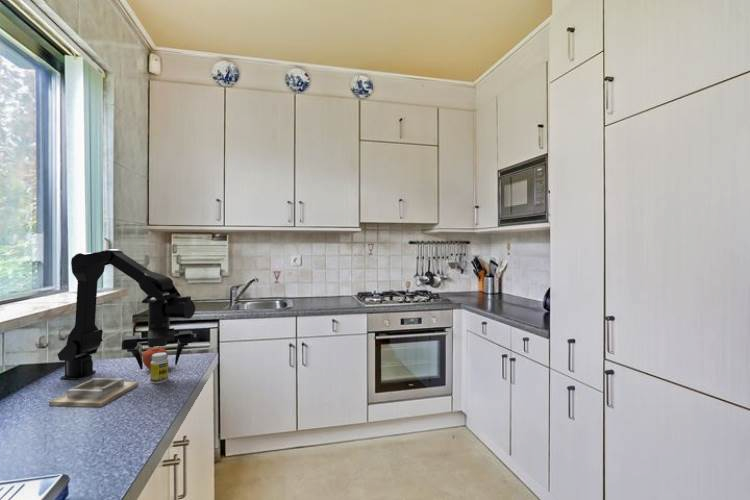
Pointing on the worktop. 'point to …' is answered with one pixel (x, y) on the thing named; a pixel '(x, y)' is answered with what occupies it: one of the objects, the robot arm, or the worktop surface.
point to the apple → (148, 355)
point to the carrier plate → (94, 392)
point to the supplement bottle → (159, 368)
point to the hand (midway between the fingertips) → (159, 366)
